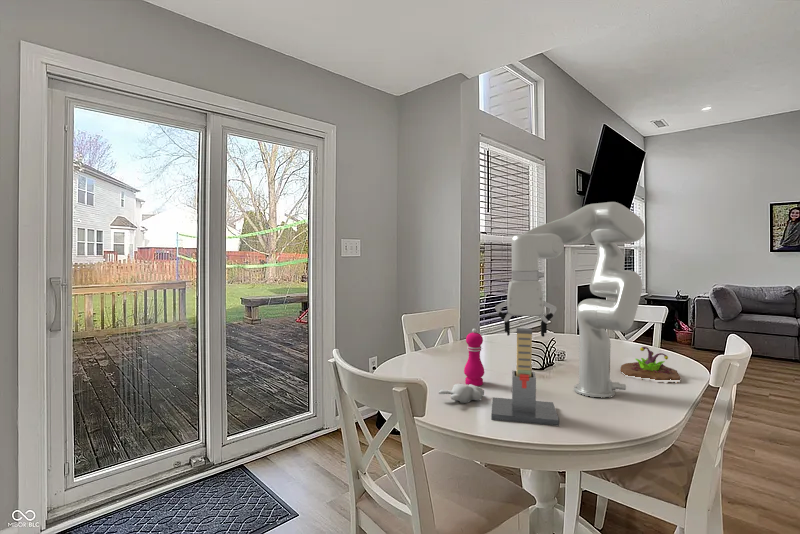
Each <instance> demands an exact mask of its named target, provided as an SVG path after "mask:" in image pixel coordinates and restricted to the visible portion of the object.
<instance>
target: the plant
mask: <svg viewBox="0 0 800 534" xmlns="http://www.w3.org/2000/svg"><path fill="white" fill-rule="evenodd" d="M639 350H640V351H641V352H644V351H645V350H647V353H648V355H647V358H644V357H641V358H640V359H641V360H640V359H638V358H636V357H635V358H634V359H635V360H636V361H637V362H636V361H634V362H626V363H624V364H622V365H621V366H620V371H621V372H623V373H624V374H625V375H628V376H635V377H641V378H650V379H655V380H670V379H671V380H680V379H682V377H681V375H680V374H679V373H678V370H676V369H674V368H673V367H668V366H666V365H664V363H665V360H668V359H669V356H668V355H667V354H665V353H662V352H659V353H657V354H655V353H654V351H652V350H650V348H648V347H647V346H642V347H639ZM661 355H662V356H663V357H664V359H665V360H661V361H659V362H657V358H658V357H659V356H661ZM624 374H623V375H624ZM625 375H624V376H625Z"/></svg>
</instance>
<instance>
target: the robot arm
mask: <svg viewBox="0 0 800 534" xmlns="http://www.w3.org/2000/svg"><path fill="white" fill-rule="evenodd" d="M589 234H590V236H591V238H592V241H593V242H594V246H595V248H596V251H597V259H596V261H595V262H596V263H595V265H594V268H593V273H592V274H591V278H590V281H589V291H590V293H591V294H592V295H594V296H597V297H600V298H601V299H600V298H586V299H583V300H582V301H580V302H579V303H578V304H577V307H576V318H577V323H578V330H579V331H578V333H579V334H578V335H579V344H578V345H579V347H578V350H579V351H578V352H579V354H578V355H579V356H578V383H575V384H574V386H573V391H574V392H575V393H577V394H579V395H581V394H582V395H581V396H584V395H585V396H584V397H588V396H590V397H589V398H594V397H601V398H600V399H603V398H602V397H609V398H612V397H611V396H613V395H614V394H615V393H616V392H615V390H619V391H621V390H622V391H626V390H627V386H626V384H625V383H620V382H619V381H617V382H616V381H612V380H611V347H612V346H611V344H612V343H611V339H610V335H609V333H608V330H609V331H614V332H615V331H616V332H626V331H628V330H629V329H631V328H632V326H633V325H634V321H635V318H636V314H637V311H638V308H639V304H640V300H641V297H642V291H643V281H642V278H641V276H640V274H639V273H637V272H636V271H633V270H629V269H628V270H627V269H626V270H624V264H625V260H626V259H625V256H624V253H623V251H622V250H621V249H620V247H619V246H618V244H617V243H634V242H637V241H639V240H641V239H642V238H643V236H644V234H645V224H644V222H643V220H642V218H641V217H640V216H639V215H637V214H636V213H634V212H633V210H631V209H630V208H628V207H626V206H625V205H623V204H622V203H619V202H618V201H617V202H616V201H607V202H598V203H597V202H596V203H590V204H585V205H584V206H582V207H580V208H578V209H577V210H575V211H573V212H571V213H570V214H567V215H566V216H564V217H562V218H559V219H558V218H557V219H556V220H553V221H550V222H547V223H544V224H541V225H538V226H536V227H533V228H531V229H529V230H528V231H526V232H524V233H523V234H515V235H513V236H512V238H511V280H510V281H508V286H507V296H506V297H507V298H506V299H507V300H505V301H502V302H501V303H498V304H497V305H495V306H494V310H495V311H496V313H497V315H498V316H499V317H500V318H501V319H502V321H503V322H504V332H505V333H506V335H507V336H510V335H511V329H510V328H511V327H510V326H511V324H510V322H511V321H510V320H511V318H512V316H515V317H539V319H540V320H541V321H540V335H541V337H543V338H544V337H545V334H547V332H548V329H547V327H548V326H547V323H548V322H549V321H550V320H551V319H552V318H553V317H554V315H555V313H556V312H557V310H558V308H557V306H555V305H553V304H552V303H549V302H547V301H545V300H544V293H543V285H542V284H543V283H542V281H540V279H541V278H545V273H544V272H541V271H540V270H539V269H540V268H539V260H540V259H541V260H547V259H548V260H550V259H555V258H558V257H559V256H560V255H561V254H562V253H563V251H564V248H565V247H564V246H565V245H567V244H572V243H576V242H579V241H580V240H582V239H584V237H587V236H588V235H589ZM602 298H606V299H602ZM607 298H608V299H607ZM609 299H616V300H609ZM504 307H506V310H507V312H506V314H504V313H503V311H502V309H503V308H504ZM544 307H545V308H547V309H549V312H548V313H547V314H546V315H544V312H545V309H544ZM615 395H616V394H615ZM615 395H614V396H615ZM614 396H613V397H614Z"/></svg>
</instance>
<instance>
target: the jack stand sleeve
mask: <svg viewBox="0 0 800 534" xmlns="http://www.w3.org/2000/svg"><path fill="white" fill-rule="evenodd" d="M516 371H517V370H512V371H511V372H512V374H511V398H503V397H492V401H491V415H490V417H491V418H490V419H491V420H492V421H501V422H502V421H503V422H513V423H521V424H522V423H524V424H525V423H526V424H534V425H545V426H546V425H547V426H558V427H559V426H560V419H559V417H558V414H557V413H558V412H557V410H556V407H555V403H554V401H544V400H543V401H541V400H540V401H539V400H537V377H536V372H535V371H531V377H529V374H520V377H519V376H516Z"/></svg>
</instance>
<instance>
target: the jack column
mask: <svg viewBox="0 0 800 534" xmlns="http://www.w3.org/2000/svg"><path fill="white" fill-rule="evenodd" d="M532 338H533V329H532V328H523V327H522V328H521V327H517V328H516V370H515V371H516V376H519V377H520V374H529V377H531V372H532V351H533V348H532V347H533V339H532Z"/></svg>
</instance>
